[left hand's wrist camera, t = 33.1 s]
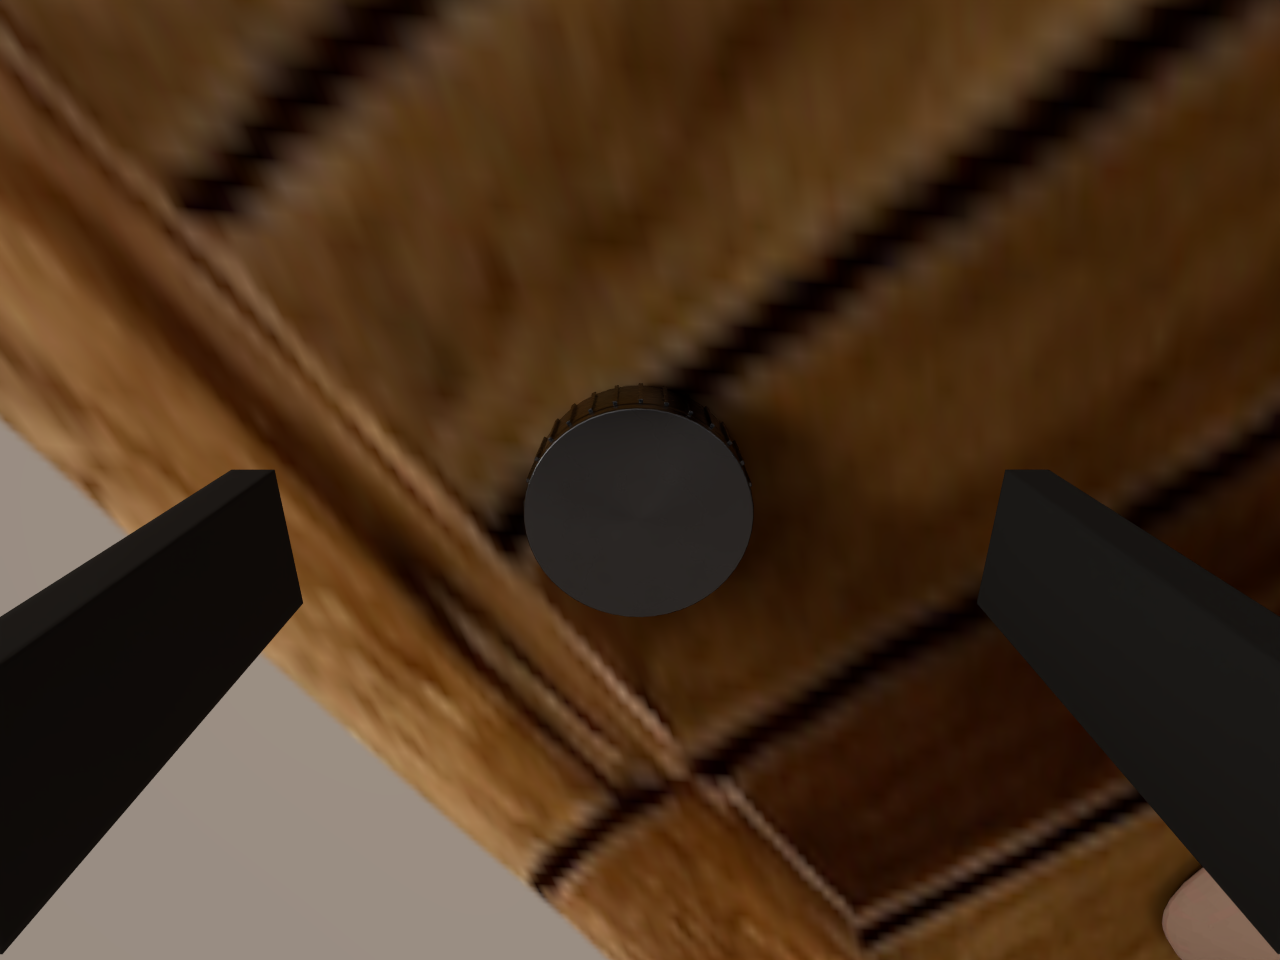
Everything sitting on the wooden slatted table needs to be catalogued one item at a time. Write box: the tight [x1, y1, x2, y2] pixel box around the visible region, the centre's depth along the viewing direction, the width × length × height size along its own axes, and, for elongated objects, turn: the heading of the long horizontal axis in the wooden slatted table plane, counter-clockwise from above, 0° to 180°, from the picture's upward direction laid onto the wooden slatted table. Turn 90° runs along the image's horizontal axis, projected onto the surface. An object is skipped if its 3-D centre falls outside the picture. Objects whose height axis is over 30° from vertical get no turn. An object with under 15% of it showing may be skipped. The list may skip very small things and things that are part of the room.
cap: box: [524, 383, 754, 617], centre depth 14 cm, size 5×5×2 cm
